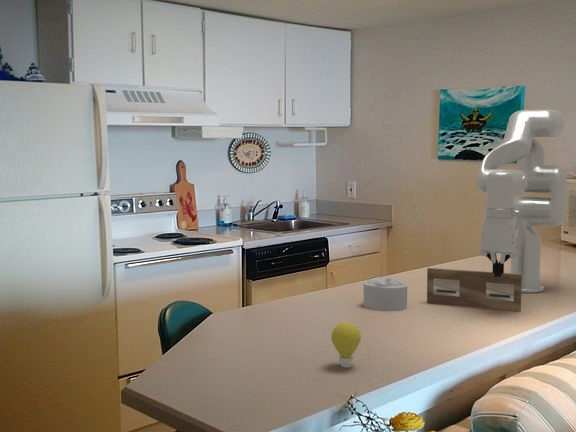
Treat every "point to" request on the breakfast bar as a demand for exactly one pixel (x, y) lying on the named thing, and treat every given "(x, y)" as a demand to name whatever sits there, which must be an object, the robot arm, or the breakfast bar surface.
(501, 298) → the wooden panel
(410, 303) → the breakfast bar surface
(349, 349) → the light bulb
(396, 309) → the lumpy-topped squat cylinder
